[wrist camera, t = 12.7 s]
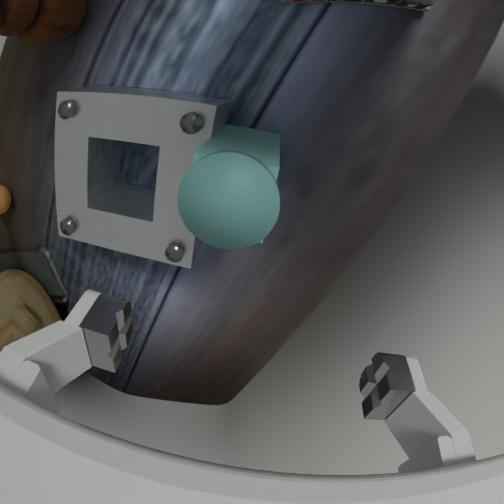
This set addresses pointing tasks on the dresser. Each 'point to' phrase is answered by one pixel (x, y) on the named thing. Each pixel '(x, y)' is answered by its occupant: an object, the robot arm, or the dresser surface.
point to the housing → (110, 159)
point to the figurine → (4, 199)
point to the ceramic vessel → (23, 306)
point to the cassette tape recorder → (377, 3)
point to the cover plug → (232, 188)
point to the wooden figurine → (41, 19)
